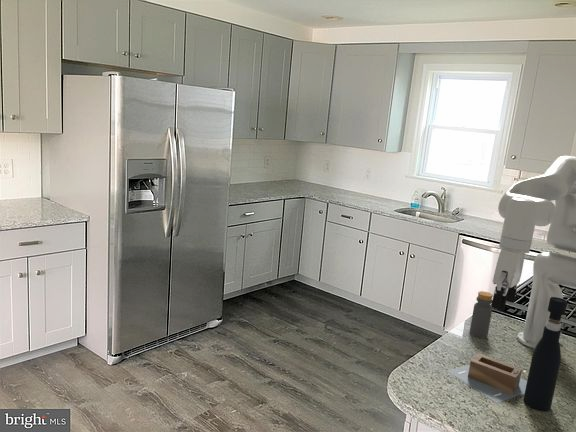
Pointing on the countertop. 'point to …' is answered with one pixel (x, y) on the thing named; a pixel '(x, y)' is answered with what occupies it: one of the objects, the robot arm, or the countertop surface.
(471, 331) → the bottle
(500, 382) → the frame
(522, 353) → the countertop surface
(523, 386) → the board
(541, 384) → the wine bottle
